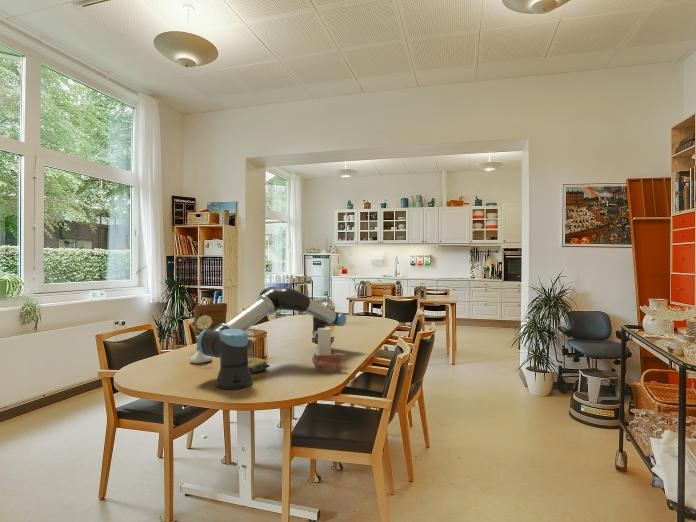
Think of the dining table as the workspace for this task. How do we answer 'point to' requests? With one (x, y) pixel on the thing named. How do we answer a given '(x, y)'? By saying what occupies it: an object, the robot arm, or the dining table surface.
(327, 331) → the block
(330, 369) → the red brick
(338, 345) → the dining table surface
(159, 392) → the dining table surface
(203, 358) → the flower in vase
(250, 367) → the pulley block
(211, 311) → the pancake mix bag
